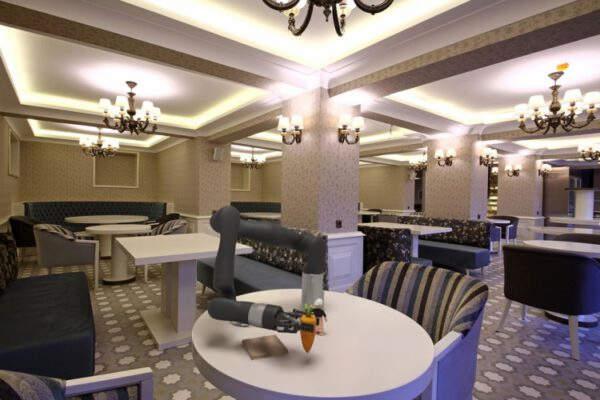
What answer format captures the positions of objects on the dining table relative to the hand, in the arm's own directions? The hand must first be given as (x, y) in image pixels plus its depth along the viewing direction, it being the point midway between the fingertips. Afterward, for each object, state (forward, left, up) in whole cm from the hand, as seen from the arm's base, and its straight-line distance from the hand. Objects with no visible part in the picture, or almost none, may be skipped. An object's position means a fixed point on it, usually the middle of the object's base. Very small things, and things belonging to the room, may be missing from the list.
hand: (316, 325), depth 94 cm
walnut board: (+11, -15, -12) cm, 22 cm away
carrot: (+2, -2, -9) cm, 10 cm away
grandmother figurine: (-11, -19, -12) cm, 25 cm away
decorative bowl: (+10, -40, -12) cm, 43 cm away
